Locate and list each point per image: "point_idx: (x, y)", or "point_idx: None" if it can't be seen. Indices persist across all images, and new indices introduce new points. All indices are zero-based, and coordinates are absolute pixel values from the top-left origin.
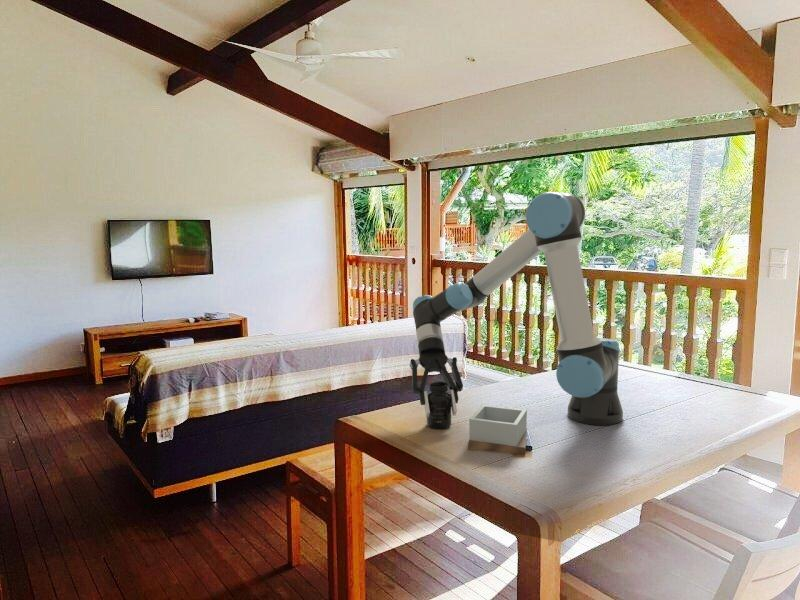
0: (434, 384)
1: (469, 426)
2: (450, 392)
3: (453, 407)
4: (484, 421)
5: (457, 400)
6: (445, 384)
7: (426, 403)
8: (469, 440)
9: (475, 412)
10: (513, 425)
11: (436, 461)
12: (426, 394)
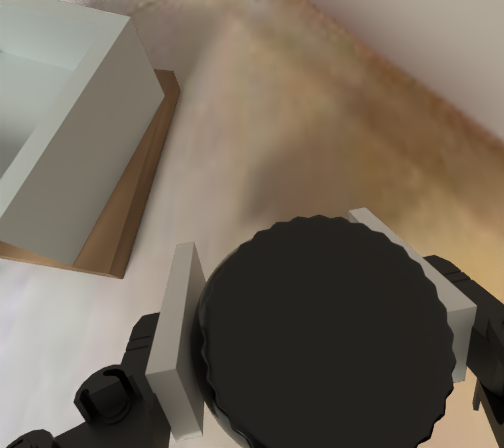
0: (385, 304)
1: (144, 50)
2: (185, 377)
3: (193, 260)
4: (64, 4)
5: (146, 316)
6: (227, 304)
7: (393, 236)
8: (164, 92)
9: (75, 99)
10: None
11: (284, 11)
12: None
